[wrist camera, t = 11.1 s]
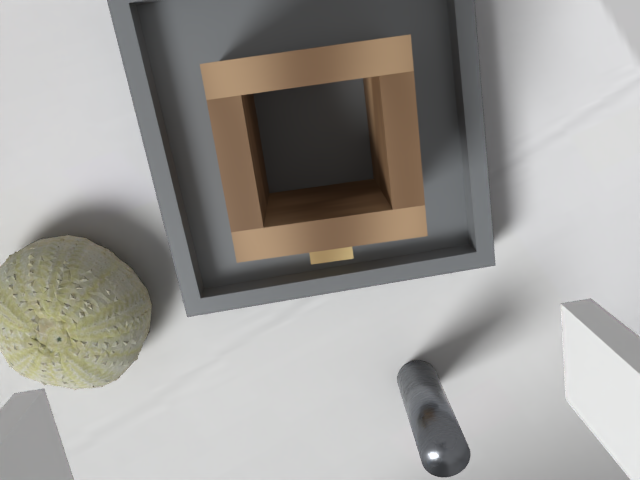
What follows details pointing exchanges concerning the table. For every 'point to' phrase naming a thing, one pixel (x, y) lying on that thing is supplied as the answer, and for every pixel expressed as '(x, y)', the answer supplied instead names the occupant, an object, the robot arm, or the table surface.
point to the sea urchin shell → (71, 313)
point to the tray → (305, 137)
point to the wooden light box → (330, 200)
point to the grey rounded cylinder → (432, 420)
